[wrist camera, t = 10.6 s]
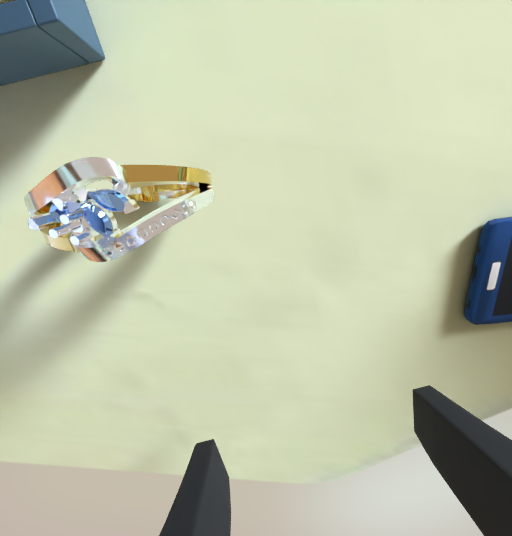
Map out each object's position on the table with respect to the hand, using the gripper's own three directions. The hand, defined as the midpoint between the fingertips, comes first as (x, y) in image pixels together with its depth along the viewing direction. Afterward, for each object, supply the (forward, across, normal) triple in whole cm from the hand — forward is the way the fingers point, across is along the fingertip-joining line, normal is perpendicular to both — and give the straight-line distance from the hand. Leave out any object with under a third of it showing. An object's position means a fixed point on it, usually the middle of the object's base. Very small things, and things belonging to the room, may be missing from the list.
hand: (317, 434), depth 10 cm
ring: (+10, +5, -9) cm, 14 cm away
